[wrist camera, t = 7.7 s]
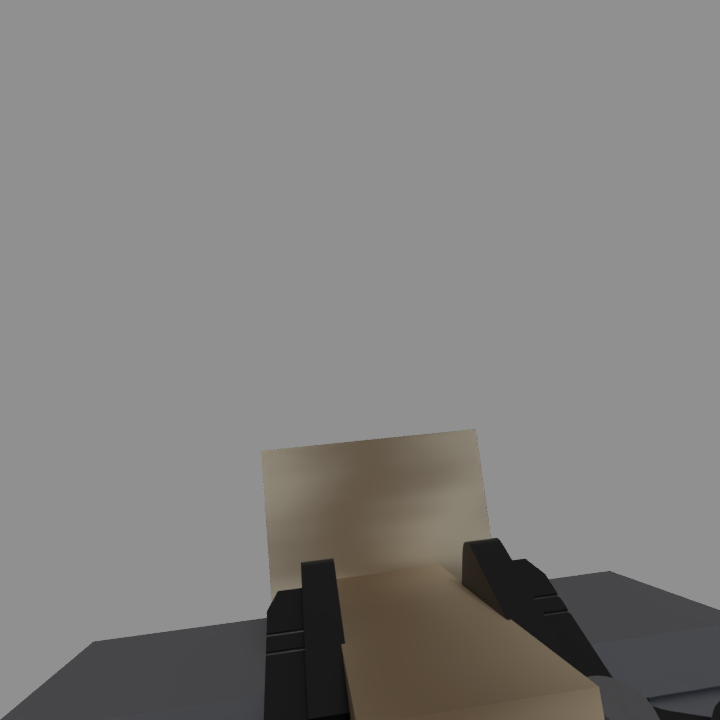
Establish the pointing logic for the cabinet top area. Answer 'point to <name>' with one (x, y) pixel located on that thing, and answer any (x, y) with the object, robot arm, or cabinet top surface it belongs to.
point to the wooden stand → (248, 656)
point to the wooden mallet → (411, 581)
